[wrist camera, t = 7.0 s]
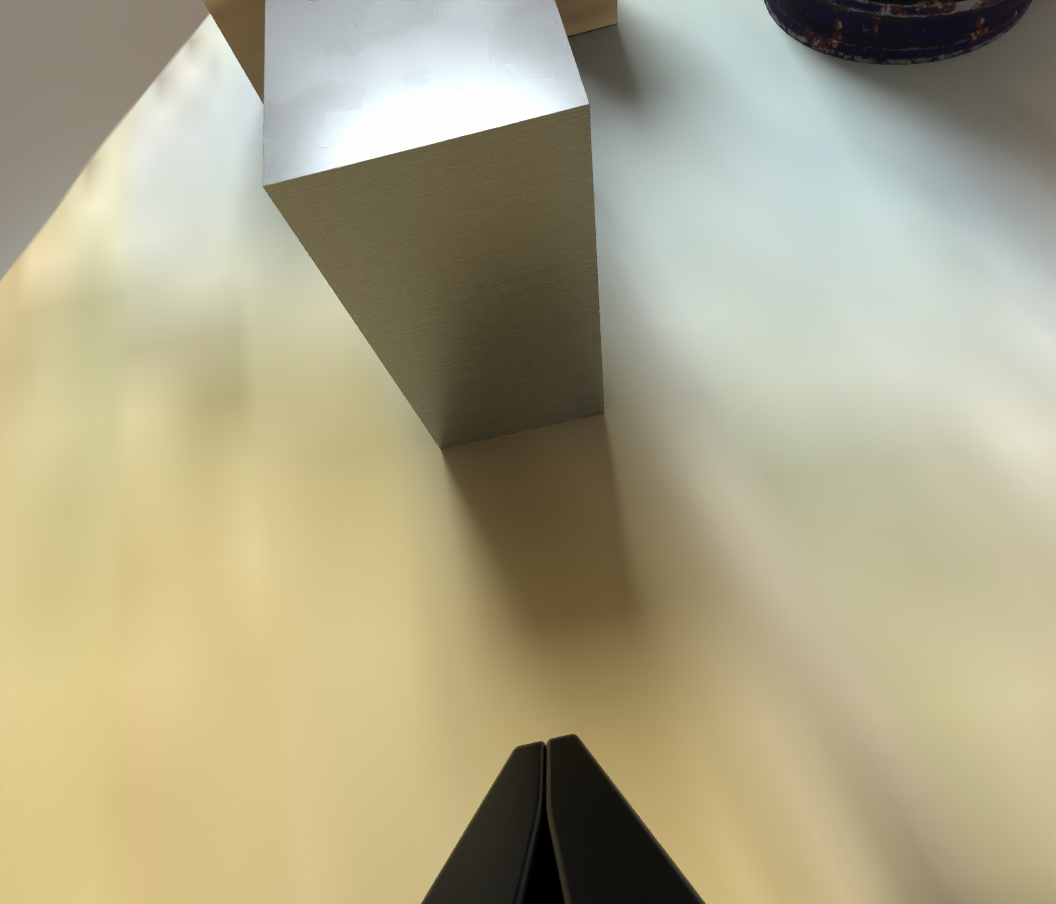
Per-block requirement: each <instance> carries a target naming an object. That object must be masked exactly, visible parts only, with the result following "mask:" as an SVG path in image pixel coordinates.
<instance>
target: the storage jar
mask: <svg viewBox="0 0 1056 904" xmlns="http://www.w3.org/2000/svg"><path fill="white" fill-rule="evenodd" d="M764 2H765V4H766V7H767V9H768V11H769V13H770V15H771V16H772V18H773V19H774V20H775V21H776V23H777V24H778V25H779V26H780V27H781V28H782V29H783V30H784V31H786V32H787V33H788V34H789V35H790V36H792V37H793V38H795V39H797V40H798V41H800V42H801V43H803V44H805V45H807V46H809V47H811V48H813V49H816V50H818V51H820V52H823V53H826V54H829V55H832V56H836V57H839V58H843V59H848V60H853V61H858V62H865V63H875V64H914V63H925V62H932V61H937V60H942V59H947V58H952V57H955V56H958V55H961V54H964V53H968V52H971V51H973V50H975V49H978V48H980V47H982V46H984V45H987V44H989V43H991V42H992V41H994V40H995V39H997V38H999V37H1000V36H1002V35H1003V34H1005V33H1006V32H1007V31H1008V30H1009V29H1011V28H1012V27H1013V26H1014V25H1015V24H1016V23H1017V22H1018V21H1019V20H1020V18H1021V17H1022V16H1023V14H1024V13H1025V12H1026V10H1027V9H1028V7H1029V5H1030V4H1031V2H1032V0H764Z"/></svg>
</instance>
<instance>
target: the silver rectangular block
mask: <svg viewBox="0 0 1056 904" xmlns="http://www.w3.org/2000/svg"><path fill="white" fill-rule="evenodd" d="M263 187H264V189H265V190H266V192H267V193H268V195H269V196H270V198H271V199H272V201H273V202H274V204H275V205H276V207H277V208H278V210H279V211H280V212H281V214H282V215H283V217H284V218H285V220H286V221H287V223H288V224H289V226H290V227H291V229H292V230H293V232H294V233H295V235H296V236H297V238H298V239H299V241H300V242H301V244H302V245H303V246H304V248H305V249H306V251H307V252H308V254H309V255H310V257H311V258H312V260H313V261H314V263H315V264H316V266H317V267H318V269H319V270H320V272H321V273H322V275H323V276H324V278H325V279H326V280H327V282H328V283H329V285H330V286H331V288H332V289H333V291H334V292H335V294H336V295H337V297H338V298H339V300H340V301H341V303H342V304H343V306H344V307H345V309H346V310H347V312H348V313H349V314H350V316H351V317H352V319H353V320H354V322H355V323H356V325H357V326H358V328H359V329H360V331H361V332H362V334H363V335H364V337H365V338H366V340H367V341H368V343H369V344H370V345H371V347H372V348H373V350H374V351H375V353H376V354H377V356H378V357H379V359H380V360H381V362H382V363H383V365H384V366H385V368H386V369H387V371H388V372H389V374H390V375H391V377H392V378H393V379H394V381H395V382H396V384H397V385H398V387H399V388H400V390H401V391H402V393H403V394H404V396H405V397H406V399H407V400H408V402H409V403H410V405H411V406H412V408H413V409H414V411H415V412H416V413H417V415H418V416H419V418H420V419H421V421H422V422H423V424H424V425H425V427H426V428H427V430H428V431H429V433H430V434H431V436H432V437H433V439H434V440H435V442H436V443H437V444H438V446H439V447H440V449H444V448H448V447H453V446H457V445H462V444H466V443H471V442H475V441H480V440H484V439H489V438H493V437H498V436H502V435H507V434H511V433H516V432H520V431H524V430H529V429H533V428H538V427H542V426H547V425H551V424H556V423H560V422H565V421H569V420H574V419H578V418H583V417H587V416H592V415H596V414H601V413H604V398H603V377H602V356H601V335H600V315H599V294H598V273H597V253H596V232H595V211H594V190H593V170H592V149H591V128H590V108H589V101H588V98H587V95H586V92H585V89H584V86H583V83H582V80H581V77H580V74H579V71H578V68H577V65H576V62H575V59H574V56H573V53H572V50H571V47H570V44H569V41H568V38H567V35H566V32H565V29H564V26H563V23H562V20H561V17H560V14H559V11H558V8H557V5H556V2H555V0H265V63H264V131H263Z"/></svg>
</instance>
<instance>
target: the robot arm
mask: <svg viewBox="0 0 1056 904" xmlns="http://www.w3.org/2000/svg"><path fill="white" fill-rule="evenodd" d="M421 904H706V903H705V902H704V901H703V899H702V898H701V897H700V895H699V894H698V893H697V892H696V890H695V889H694V888H693V886H692V885H691V884H690V882H689V881H688V880H687V878H686V877H685V876H684V875H683V873H682V872H681V871H680V869H679V868H678V867H677V865H676V864H675V863H674V861H673V860H672V859H671V858H670V856H669V855H668V854H667V852H666V851H665V850H664V848H663V847H662V846H661V844H660V843H659V842H658V841H657V839H656V838H655V837H654V835H653V834H652V833H651V831H650V830H649V829H648V827H647V826H646V825H645V824H644V822H643V821H642V820H641V818H640V817H639V816H638V814H637V813H636V812H635V810H634V809H633V808H632V807H631V805H630V804H629V803H628V801H627V800H626V799H625V797H624V796H623V795H622V793H621V792H620V791H619V790H618V788H617V787H616V786H615V784H614V783H613V782H612V780H611V779H610V778H609V776H608V775H607V774H606V773H605V771H604V770H603V769H602V767H601V766H600V765H599V763H598V762H597V761H596V759H595V758H594V757H593V756H592V754H591V753H590V752H589V750H588V749H587V748H586V746H585V745H584V744H583V742H582V741H581V740H580V739H579V737H578V736H576V735H575V734H570V735H566V736H561V737H557V738H552V739H550V740H549V741H548V742H547V744H545V743H544V742H542V741H539V742H534V743H530V744H526V745H521V746H518V747H516V748H515V749H514V750H513V751H512V753H511V755H510V756H509V758H508V760H507V761H506V763H505V765H504V766H503V768H502V770H501V771H500V773H499V775H498V776H497V778H496V780H495V781H494V783H493V785H492V786H491V788H490V790H489V791H488V793H487V795H486V796H485V798H484V800H483V801H482V803H481V805H480V806H479V808H478V810H477V811H476V813H475V815H474V816H473V818H472V820H471V821H470V823H469V825H468V826H467V828H466V830H465V831H464V833H463V835H462V836H461V838H460V840H459V841H458V843H457V845H456V846H455V848H454V850H453V851H452V853H451V855H450V856H449V858H448V860H447V861H446V863H445V865H444V866H443V868H442V870H441V871H440V873H439V875H438V876H437V878H436V880H435V881H434V883H433V885H432V886H431V888H430V890H429V891H428V893H427V895H426V896H425V898H424V900H423V901H422V903H421Z"/></svg>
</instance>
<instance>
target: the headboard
mask: <svg viewBox="0 0 1056 904" xmlns="http://www.w3.org/2000/svg"><path fill="white" fill-rule="evenodd" d="M203 1H204V3H205V5H206V7H207V8H208V10H209V12H210V13H211V15H212V17H213V19H214V20H215V22H216V24H217V25H218V27H219V29H220V31H221V32H222V34H223V36H224V37H225V39H226V41H227V43H228V44H229V46H230V48H231V49H232V51H233V53H234V55H235V56H236V58H237V60H238V61H239V63H240V65H241V67H242V68H243V70H244V72H245V73H246V75H247V77H248V78H249V80H250V82H251V84H252V85H253V87H254V89H255V90H256V92H257V94H258V96H259V97H260V99H261V101H262V102H263V104H264V63H265V0H203ZM555 2H556V5H557V8H558V11H559V14H560V17H561V20H562V23H563V26H564V29H565V32H566V35H567V37H568V36H571V35H575V34H579V33H583V32H586V31H590V30H594V29H598V28H601V27H605V26H609V25H613V24H616V23H617V0H555Z"/></svg>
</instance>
